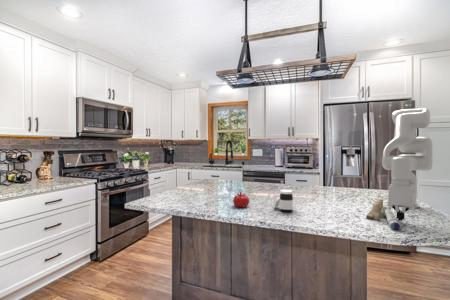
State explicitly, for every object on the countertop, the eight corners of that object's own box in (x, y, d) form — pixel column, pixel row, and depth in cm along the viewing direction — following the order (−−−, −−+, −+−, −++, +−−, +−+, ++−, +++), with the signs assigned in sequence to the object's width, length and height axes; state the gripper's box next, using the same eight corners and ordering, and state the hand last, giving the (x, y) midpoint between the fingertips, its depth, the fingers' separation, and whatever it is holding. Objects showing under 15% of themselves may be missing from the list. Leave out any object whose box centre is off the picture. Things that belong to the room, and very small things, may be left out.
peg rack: (371, 211, 136) (371, 197, 135) (383, 213, 132) (383, 199, 132) (366, 218, 123) (366, 203, 123) (378, 220, 120) (378, 204, 120)
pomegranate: (251, 208, 147) (251, 193, 147) (236, 209, 144) (236, 193, 144) (245, 204, 156) (245, 189, 156) (231, 205, 154) (231, 190, 153)
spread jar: (293, 213, 134) (293, 192, 134) (272, 212, 137) (272, 191, 137) (292, 207, 146) (292, 188, 146) (273, 206, 149) (273, 188, 148)
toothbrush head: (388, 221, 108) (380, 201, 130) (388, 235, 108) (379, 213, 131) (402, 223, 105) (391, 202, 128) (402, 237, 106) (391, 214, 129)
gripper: (420, 183, 114) (420, 221, 115) (383, 180, 124) (383, 215, 124) (420, 185, 108) (420, 225, 109) (381, 182, 118) (381, 219, 118)
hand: (400, 220), depth 116 cm, fingers closed
